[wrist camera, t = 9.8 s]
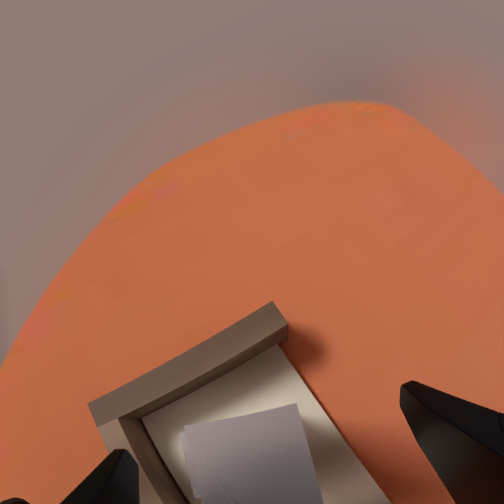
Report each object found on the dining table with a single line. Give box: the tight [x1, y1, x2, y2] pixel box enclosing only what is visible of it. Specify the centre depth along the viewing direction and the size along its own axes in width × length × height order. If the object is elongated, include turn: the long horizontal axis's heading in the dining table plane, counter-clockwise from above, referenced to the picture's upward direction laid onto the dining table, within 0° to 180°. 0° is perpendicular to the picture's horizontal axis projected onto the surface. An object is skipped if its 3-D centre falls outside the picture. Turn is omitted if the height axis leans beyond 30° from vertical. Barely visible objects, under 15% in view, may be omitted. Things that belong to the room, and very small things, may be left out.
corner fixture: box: [88, 301, 391, 504], centre depth 13 cm, size 14×12×3 cm
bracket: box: [179, 403, 324, 504], centre depth 9 cm, size 4×6×12 cm, turn 103°
